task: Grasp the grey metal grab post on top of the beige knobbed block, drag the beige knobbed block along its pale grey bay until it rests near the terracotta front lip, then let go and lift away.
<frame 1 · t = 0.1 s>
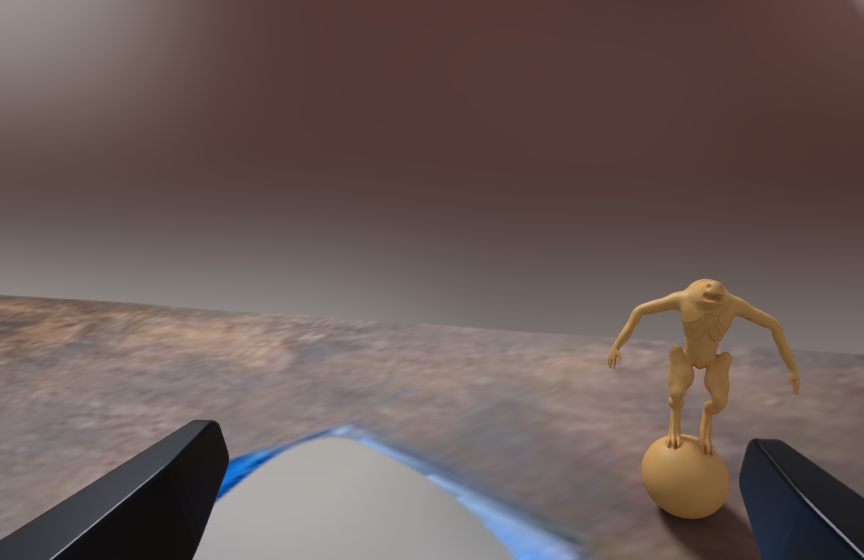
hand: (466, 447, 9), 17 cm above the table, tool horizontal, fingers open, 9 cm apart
figurine: (676, 490, 28), on the table
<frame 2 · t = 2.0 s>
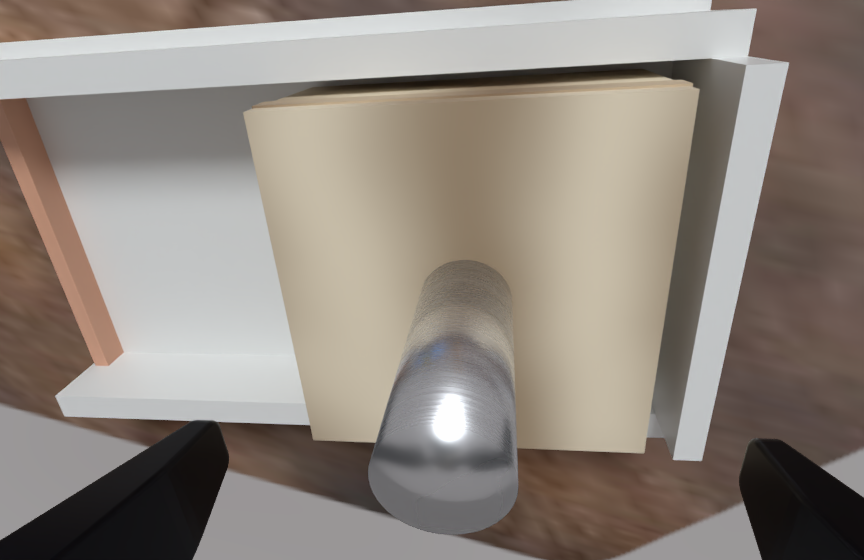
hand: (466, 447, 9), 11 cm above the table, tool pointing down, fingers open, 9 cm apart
bay: (218, 226, 20), on the table
beige knobbed block: (464, 311, 13), point 7 cm above the table, slide at 10.0 cm
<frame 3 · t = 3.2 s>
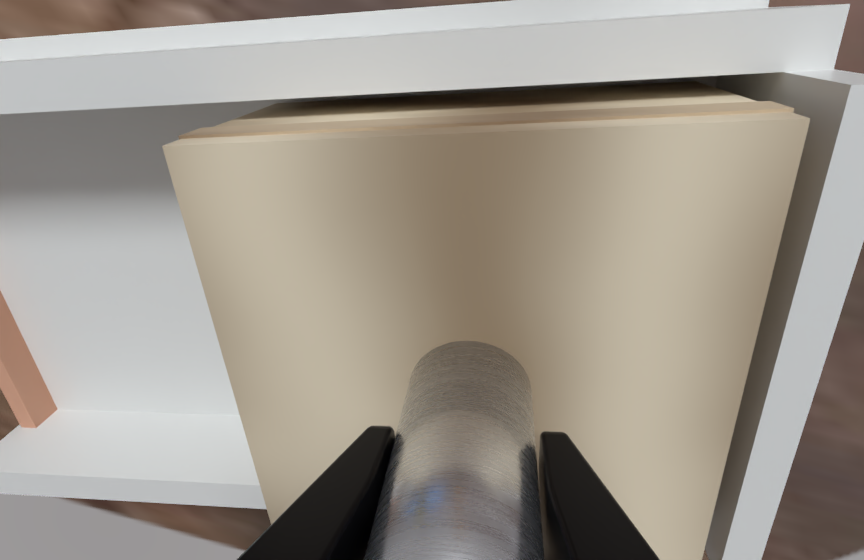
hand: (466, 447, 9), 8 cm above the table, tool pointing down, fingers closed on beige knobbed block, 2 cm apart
bay: (161, 267, 17), on the table
beige knobbed block: (468, 408, 10), point 6 cm above the table, slide at 10.4 cm, touching gripper
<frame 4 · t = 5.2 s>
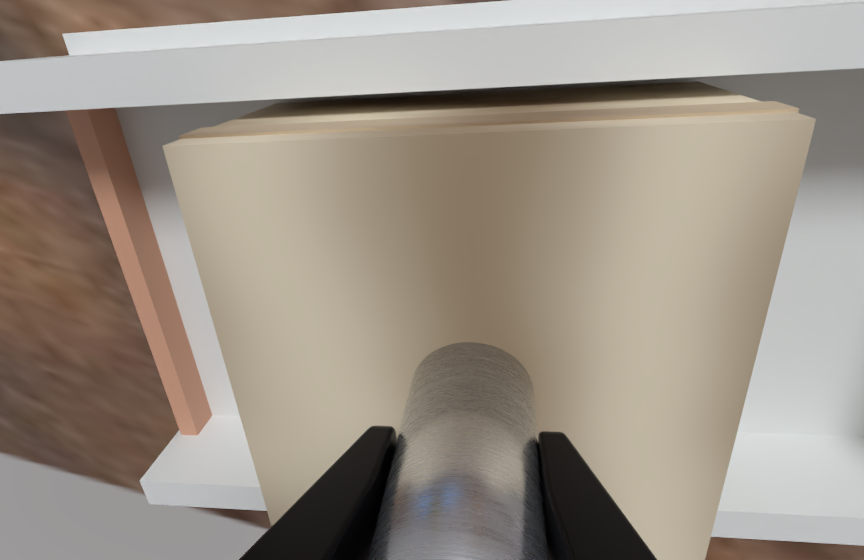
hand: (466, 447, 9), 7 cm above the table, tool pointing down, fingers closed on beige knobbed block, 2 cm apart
bay: (345, 266, 16), on the table
beige knobbed block: (470, 410, 10), point 6 cm above the table, slide at 4.2 cm, touching gripper
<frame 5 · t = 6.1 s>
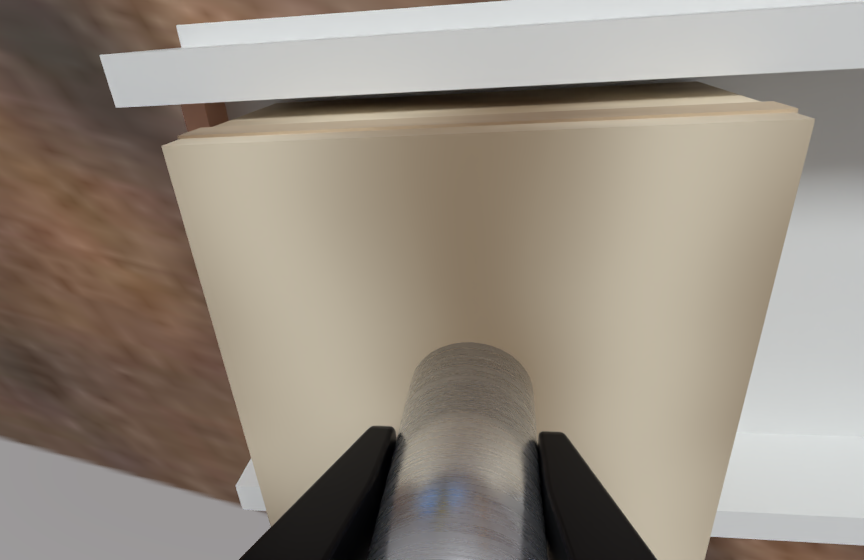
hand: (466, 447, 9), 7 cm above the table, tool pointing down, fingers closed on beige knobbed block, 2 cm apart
bay: (445, 265, 16), on the table
beige knobbed block: (469, 410, 10), point 6 cm above the table, slide at 1.1 cm, touching gripper
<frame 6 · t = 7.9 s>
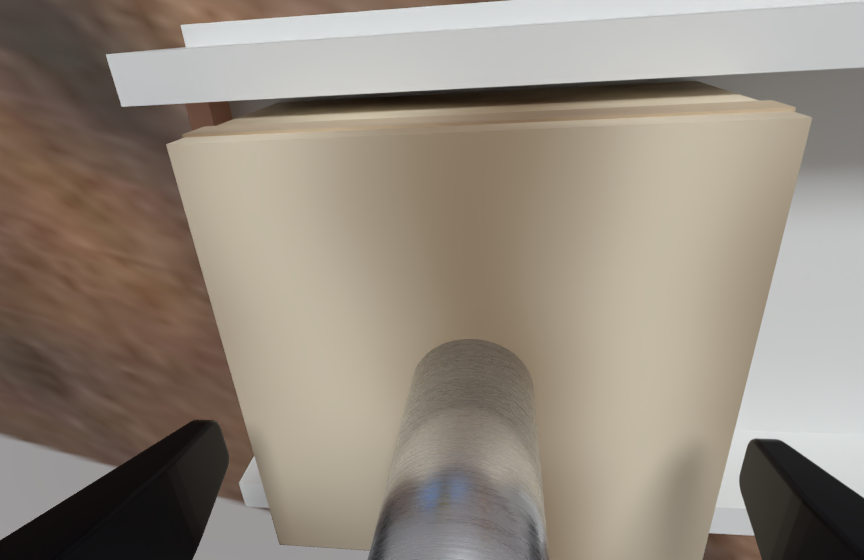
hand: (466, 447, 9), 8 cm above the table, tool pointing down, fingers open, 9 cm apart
bay: (447, 264, 16), on the table
beige knobbed block: (470, 406, 10), point 6 cm above the table, slide at 1.0 cm
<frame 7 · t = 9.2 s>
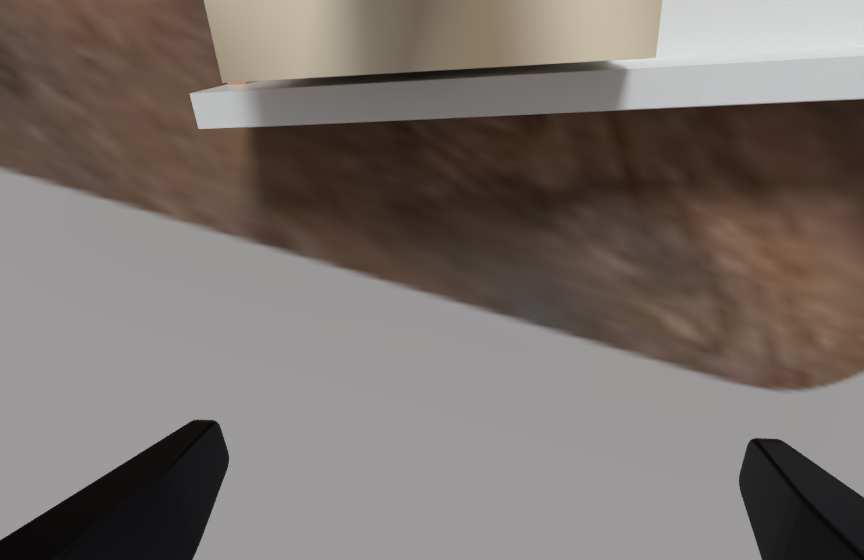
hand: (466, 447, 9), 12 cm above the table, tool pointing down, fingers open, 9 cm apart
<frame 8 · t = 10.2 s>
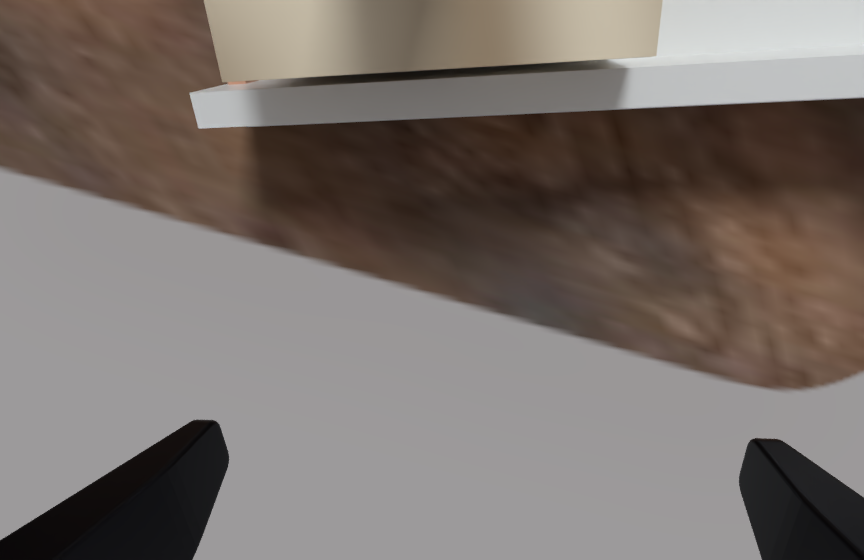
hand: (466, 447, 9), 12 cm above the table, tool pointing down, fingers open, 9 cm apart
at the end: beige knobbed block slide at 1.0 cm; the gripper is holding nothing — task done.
